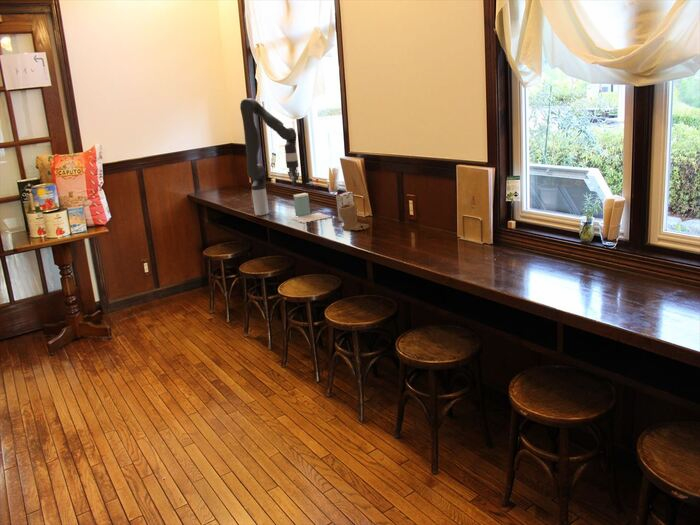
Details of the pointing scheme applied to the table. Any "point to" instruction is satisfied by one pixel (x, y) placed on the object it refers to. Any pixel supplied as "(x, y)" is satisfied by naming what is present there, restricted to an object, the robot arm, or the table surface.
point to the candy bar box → (344, 201)
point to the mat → (311, 217)
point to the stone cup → (350, 217)
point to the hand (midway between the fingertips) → (295, 186)
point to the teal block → (301, 204)
